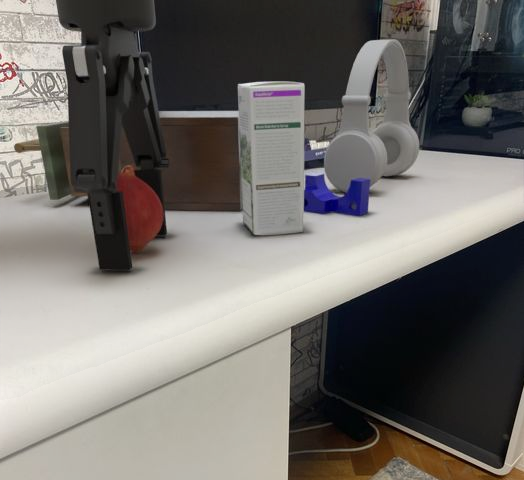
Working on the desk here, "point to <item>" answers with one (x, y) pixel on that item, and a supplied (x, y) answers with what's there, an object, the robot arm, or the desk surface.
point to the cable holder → (326, 201)
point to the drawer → (54, 158)
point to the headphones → (357, 122)
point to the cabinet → (198, 160)
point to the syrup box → (272, 156)
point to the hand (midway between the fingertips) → (136, 249)
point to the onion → (139, 209)
